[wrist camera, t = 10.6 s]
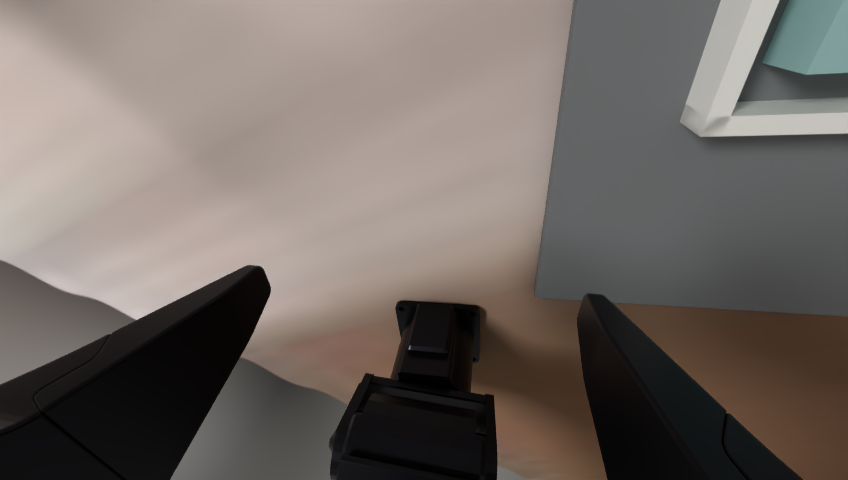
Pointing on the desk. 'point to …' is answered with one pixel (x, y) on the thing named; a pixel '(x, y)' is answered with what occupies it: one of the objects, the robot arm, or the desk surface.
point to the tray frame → (725, 77)
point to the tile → (811, 38)
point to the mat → (687, 176)
